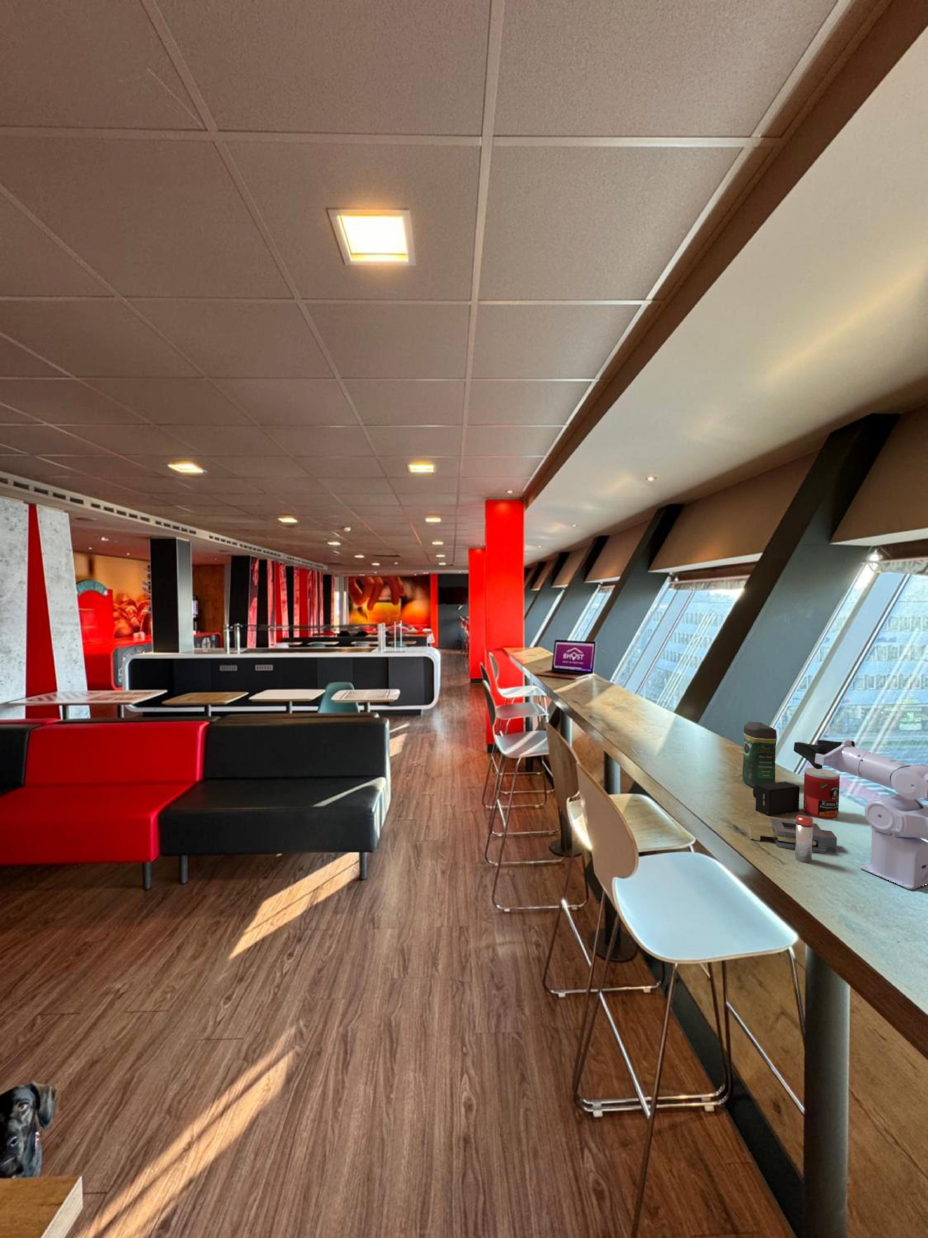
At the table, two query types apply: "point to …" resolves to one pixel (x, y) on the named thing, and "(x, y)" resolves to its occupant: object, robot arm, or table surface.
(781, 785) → the digital camera
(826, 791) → the canned food
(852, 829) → the table surface
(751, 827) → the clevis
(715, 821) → the table surface
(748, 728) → the coffee jar
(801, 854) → the clear red-capped cylinder
